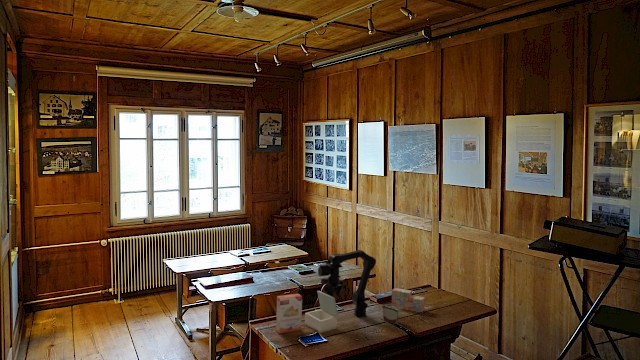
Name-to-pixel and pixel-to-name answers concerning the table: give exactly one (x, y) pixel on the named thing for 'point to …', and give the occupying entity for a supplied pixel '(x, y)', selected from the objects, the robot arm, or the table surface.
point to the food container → (390, 313)
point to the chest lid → (327, 303)
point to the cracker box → (289, 313)
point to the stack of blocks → (407, 300)
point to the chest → (320, 320)
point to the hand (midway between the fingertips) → (334, 298)
